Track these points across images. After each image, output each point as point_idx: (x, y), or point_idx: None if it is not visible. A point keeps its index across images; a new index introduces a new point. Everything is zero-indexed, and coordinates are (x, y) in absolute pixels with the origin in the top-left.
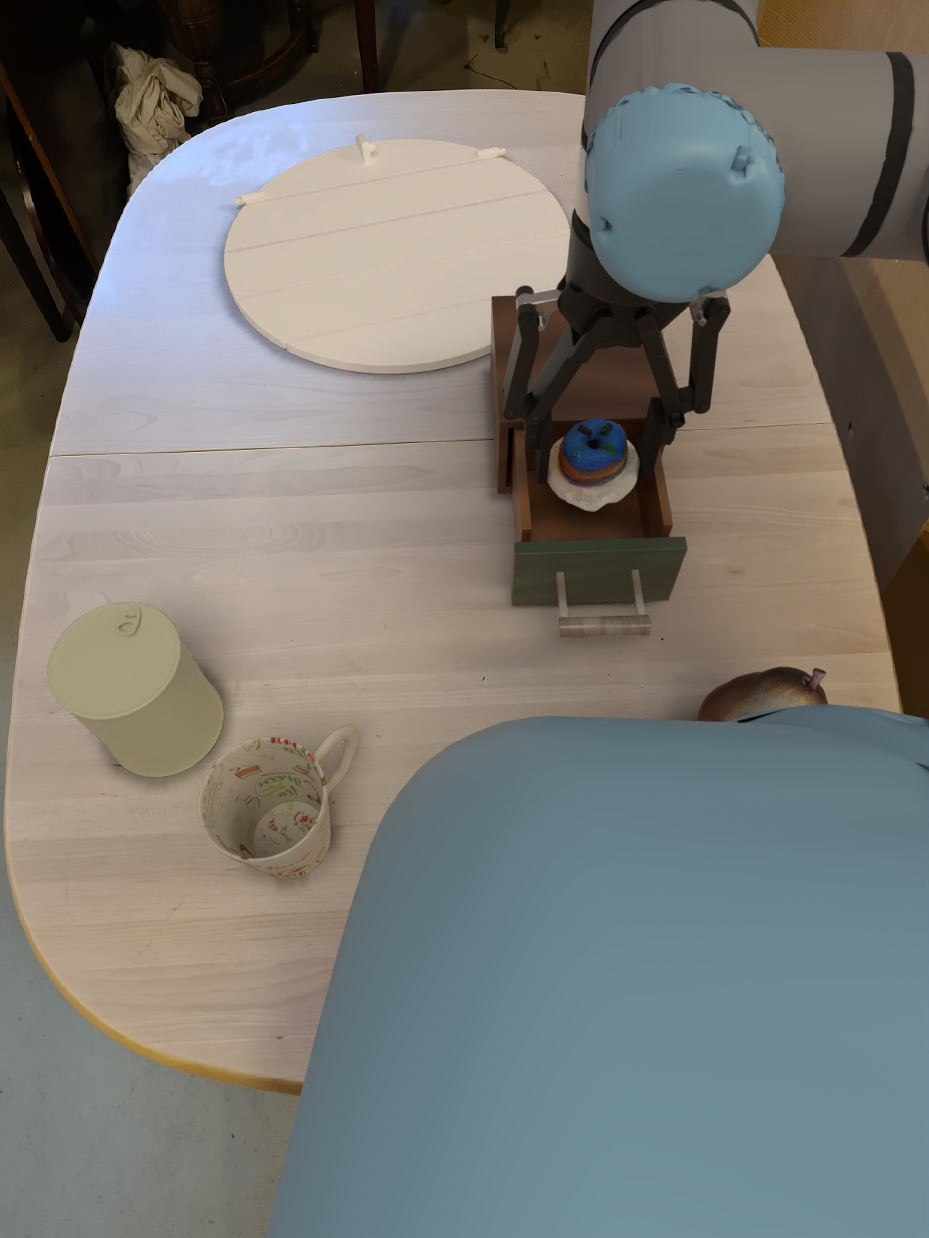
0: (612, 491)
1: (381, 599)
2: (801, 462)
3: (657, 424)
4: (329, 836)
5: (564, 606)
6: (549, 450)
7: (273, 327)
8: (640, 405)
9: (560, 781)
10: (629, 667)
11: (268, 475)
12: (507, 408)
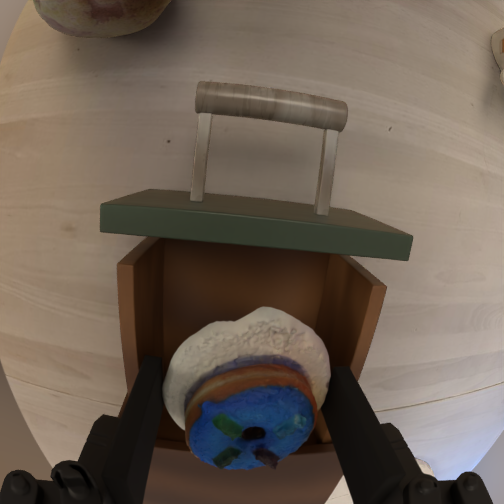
0: (223, 342)
1: (456, 246)
2: (14, 345)
3: (122, 479)
4: (502, 36)
5: (329, 148)
6: (365, 427)
7: (426, 472)
8: (154, 460)
9: None
10: None
11: (478, 371)
12: (483, 492)
